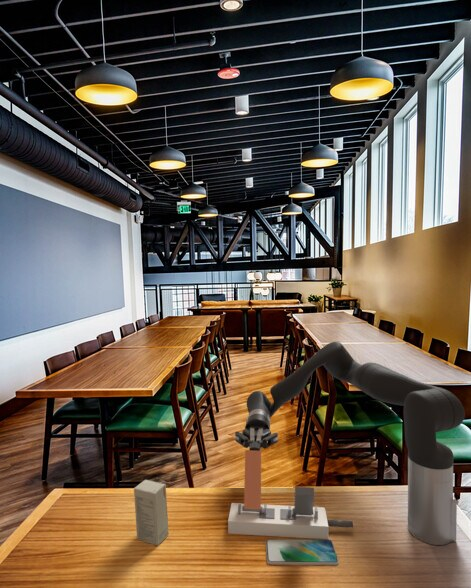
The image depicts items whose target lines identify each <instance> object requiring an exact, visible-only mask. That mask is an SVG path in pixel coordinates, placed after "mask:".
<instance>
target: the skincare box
mask: <svg viewBox="0 0 471 588" xmlns="http://www.w3.org/2000/svg"><path fill="white" fill-rule="evenodd" d="M133 495H134V497H133V498H134V509H135V510H134V511H135V512H134V513H135V526H136V539H137V540H140V541H142V542H145V543H148V544H152V545H154V546H160V545H161V543H162V542H163V541H164V540H165V539H166V537H168V535H169V520H168V519H169V518H168V515H169V514H168V503H167V501H168V500H167V499H168V498H167V484H166V483H162V482H158V481H153V480H149V479H144V480H143V481H142V482H140V483H139V484H138V485H136V486H134V488H133Z"/></svg>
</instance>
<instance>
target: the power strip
mask: <svg viewBox="0 0 471 588" xmlns="http://www.w3.org/2000/svg"><path fill="white" fill-rule="evenodd" d="M242 506H244V503H242V502H237V503H236V502H231V505H230V510H229V515H228V520H227V533H228V535H229V534H233V535H244V536H245V535H249V536H264V537H265V536H267V537H283V538H285V537H286V538H296V539H297V538H298V539H327V540H330V538H329V537H330V536H329V535H330V534H329V532H330V531H329V527H331V528H332V527H333V528H336V527H337V528H349V529H351V528H354V521H353V520H347V519H346V520H344V519H343V520H342V519H328V517H327V511H326V508H325V507H322V506H321V507H320V506H313V515H312V516H309V515H295V514H293V508H294V505H289V504H288V505H283V504H282V505H278V504H267V503H264V504H262V503H261V507H263V511H262V512H247V511H242Z"/></svg>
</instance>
